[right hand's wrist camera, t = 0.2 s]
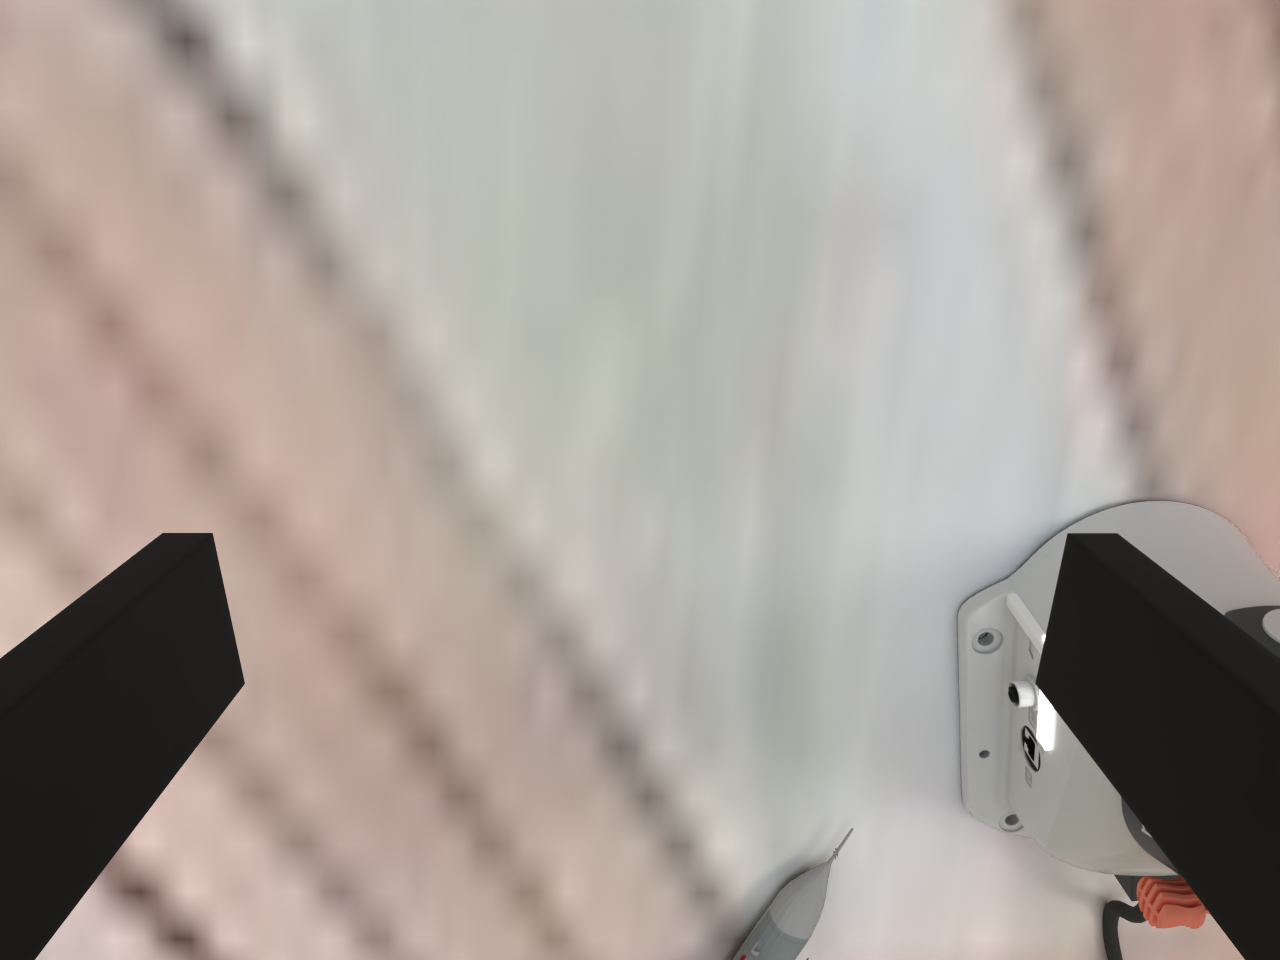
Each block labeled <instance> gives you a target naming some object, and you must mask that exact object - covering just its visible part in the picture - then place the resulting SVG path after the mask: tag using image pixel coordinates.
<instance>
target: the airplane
mask: <svg viewBox="0 0 1280 960" xmlns="http://www.w3.org/2000/svg"><path fill="white" fill-rule="evenodd" d="M852 831H853V828H852V829H851V830H850V831H849V833H848V834H847V836H846V837H845V838H844V840H843V841H842V843H841V844H840V845H839V847H838V848H837V849H836V848H835V850H836V851H833V853H834V854H833V855H832V857H831V858H830V859H829V860H828V862H826V863H824V864H821V865H819V866H817V867H815V868H813V869H811V870H809V871H807V872H805V873H803V874H801V875H800V876H798V877H797V878H795V879H793V880H792V881H790V882H789V883H788V884H787V885H786V886H785V887H784V888H783V889H782V890H781V891H779V893H778V894H777V896H776V897H775V899H774V900H773V902H772V903H771V904H770V906H769V907H768V908H767V910H766V911H765V912H764V914H763V915H762V917H761V918H760V919H759V921H758V922H757V924H756V925H755V927H754V928H753V929H752V931H751V933H750V934H749V936H748V937H747V939H746V940H745V942H744V943H743V945H742V946H741V947H740V949H739V951H738V952H737V954H736V955H735V957H734V958H733V960H795V959H796V957H797V956H798V954H799V953H800V952H801V950H802V949H803V947H804V946H805V944H806V943H807V941H808V940H809V938H810V937H811V935H812V933H813V931H814V929H815V927H816V924H817V922H818V920H819V918H820V915H821V912H822V909H823V907H824V901H825V896H826V890H827V883H828V877H829V872H830V867H831V863H832V862H833V860H834V858H835V859H836V855H837V857H838V852H839V850H840V849H841V848H842V846H843V845H844V843H845V842H846V840H847V839H848V837H849V835H850V834H851V832H852ZM808 959H809V958H807V959H806V960H808Z"/></svg>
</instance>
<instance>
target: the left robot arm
mask: <svg viewBox="0 0 1280 960" xmlns="http://www.w3.org/2000/svg"><path fill="white" fill-rule="evenodd" d="M1067 533H1118V534H1119V535H1120V536H1122V537H1123V538H1124V539H1126V540H1127V541H1128V542H1129V543H1131V544H1132V545H1133V546H1135V547H1136V548H1137V549H1139V550H1140V551H1141V552H1142V553H1144V554H1145V555H1146V556H1148V557H1149V558H1150V559H1151V560H1153V561H1154V562H1155V563H1157V564H1158V565H1159V566H1161V567H1162V568H1163V569H1164V570H1166V571H1167V572H1168V573H1170V574H1171V575H1172V576H1173V577H1175V578H1176V579H1177V580H1179V581H1180V582H1181V583H1183V584H1184V585H1185V586H1186V587H1188V588H1189V589H1190V590H1192V591H1193V592H1194V593H1195V594H1197V595H1198V596H1199V597H1201V598H1202V599H1203V600H1205V601H1206V602H1207V603H1208V604H1210V605H1211V606H1212V607H1214V608H1215V609H1216V610H1218V611H1219V612H1220V613H1221V614H1223V615H1224V616H1225V617H1227V618H1228V619H1229V620H1230V621H1232V622H1233V623H1234V624H1236V625H1237V626H1238V627H1240V628H1241V629H1242V630H1243V631H1245V632H1246V633H1247V634H1249V635H1250V636H1251V637H1252V638H1254V639H1255V640H1256V641H1258V642H1259V643H1260V644H1262V645H1263V646H1264V647H1265V648H1267V649H1268V650H1269V651H1271V652H1272V653H1273V654H1274V655H1276V656H1277V657H1278V658H1280V579H1279V578H1278V577H1277V576H1276V575H1275V574H1274V573H1273V572H1272V570H1271V569H1270V568H1269V567H1268V566H1267V565H1266V564H1265V562H1264V561H1263V560H1262V559H1261V558H1260V556H1259V555H1258V554H1257V552H1256V551H1255V550H1254V548H1253V547H1252V545H1251V544H1250V543H1249V541H1248V540H1247V539H1246V537H1245V536H1244V535H1243V534H1242V533H1241V531H1240V530H1239V529H1238V528H1236V527H1235V526H1234V525H1233V524H1232V523H1231V522H1229V521H1228V520H1226V519H1225V518H1223V517H1222V516H1220V515H1218V514H1216V513H1214V512H1212V511H1210V510H1207V509H1205V508H1202V507H1199V506H1196V505H1192V504H1187V503H1183V502H1175V501H1143V502H1135V503H1129V504H1125V505H1120V506H1116V507H1113V508H1109V509H1106V510H1103V511H1100V512H1098V513H1095V514H1093V515H1091V516H1088V517H1086V518H1084V519H1082V520H1080V521H1078V522H1076V523H1074V524H1073V525H1071V526H1069V527H1068V528H1066V529H1064V530H1063V531H1061V532H1060V533H1058V534H1057V535H1056V536H1054V537H1053V538H1052V539H1050V540H1049V541H1048V542H1047V543H1045V544H1044V545H1043V546H1042V547H1041V548H1040V549H1039V550H1037V551H1036V552H1035V553H1034V554H1033V555H1032V556H1031V557H1030V558H1029V559H1028V561H1027V562H1026V563H1025V564H1024V565H1023V566H1022V567H1021V568H1019V569H1018V570H1017V571H1016V572H1015V573H1014V574H1012V575H1011V576H1010V577H1009V578H1007V579H1005V580H1003V581H1001V582H999V583H997V584H994V585H992V586H990V587H988V588H986V589H984V590H982V591H981V592H979V593H977V594H975V595H974V596H972V597H971V598H969V599H968V600H967V601H966V602H965V603H964V604H963V605H962V606H961V608H960V610H959V613H958V660H959V701H960V743H961V784H962V800H963V804H964V806H965V807H966V809H967V810H968V812H969V813H970V815H971V816H972V817H974V818H975V819H977V820H978V821H980V822H982V823H984V824H986V825H988V826H990V827H992V828H994V829H997V830H1000V831H1002V832H1006V833H1009V834H1013V835H1017V836H1022V837H1027V838H1032V839H1033V840H1034V841H1035V843H1036V844H1037V845H1038V846H1039V847H1041V848H1042V849H1043V850H1044V851H1045V852H1047V853H1048V854H1049V855H1051V856H1052V857H1054V858H1056V859H1058V860H1060V861H1062V862H1064V863H1066V864H1069V865H1071V866H1074V867H1077V868H1081V869H1085V870H1089V871H1094V872H1100V873H1106V874H1114V875H1115V877H1116V878H1117V880H1118V881H1119V883H1120V884H1121V886H1122V887H1123V889H1124V890H1125V892H1126V893H1127V895H1128V896H1129V898H1130V899H1131V901H1138V900H1139V903H1138V904H1137V905H1136V906H1134V907H1132V906H1129V905H1127V904H1126V903H1124V902H1121V901H1114V900H1112V901H1110V902H1109V903H1108V904H1107V905H1106V907H1105V909H1104V913H1103V935H1104V942H1105V948H1106V953H1107V957H1108V960H1122V955H1121V950H1120V945H1119V939H1118V929H1117V926H1118V919H1119V917H1122V918H1124V919H1126V920H1128V921H1130V922H1134V923H1142V922H1144V921H1146V920H1149V924H1150V925H1151V926H1156V928H1170V927H1175V926H1187V927H1190V928H1192V929H1194V928H1199V927H1201V926H1202V924H1203V923H1204V920H1205V914H1210V913H1209V911H1208V910H1207V909H1206V907H1205V906H1204V905H1203V904H1202V902H1201V901H1200V900H1199V898H1198V897H1197V896H1196V894H1195V893H1194V892H1193V890H1192V889H1191V888H1190V886H1189V885H1188V884H1187V882H1186V881H1185V880H1184V879H1183V877H1182V876H1181V875H1180V873H1179V872H1178V871H1177V869H1176V868H1175V867H1174V865H1173V864H1172V863H1171V861H1170V860H1169V859H1168V858H1167V856H1166V855H1165V854H1164V852H1163V851H1162V850H1161V848H1160V847H1159V846H1158V844H1157V843H1156V842H1155V840H1154V839H1153V838H1152V836H1151V835H1150V834H1149V833H1148V831H1147V830H1146V829H1145V827H1144V826H1143V825H1142V823H1141V822H1140V821H1139V819H1138V818H1137V817H1136V815H1135V814H1134V813H1133V812H1132V810H1131V809H1130V808H1129V806H1128V805H1127V804H1126V802H1125V801H1124V800H1123V798H1122V797H1121V796H1120V794H1119V793H1118V792H1117V791H1116V789H1115V788H1114V787H1113V785H1112V784H1111V783H1110V781H1109V780H1108V779H1107V777H1106V776H1105V775H1104V773H1103V772H1102V771H1101V769H1100V768H1099V767H1098V766H1097V764H1096V763H1095V762H1094V760H1093V759H1092V758H1091V756H1090V755H1089V754H1088V752H1087V751H1086V750H1085V748H1084V747H1083V746H1082V745H1081V743H1080V742H1079V741H1078V739H1077V738H1076V737H1075V735H1074V734H1073V733H1072V731H1071V730H1070V729H1069V727H1068V726H1067V725H1066V723H1065V722H1064V721H1063V720H1062V718H1061V717H1060V716H1059V714H1058V713H1057V712H1056V710H1055V709H1054V708H1053V706H1052V705H1051V704H1050V702H1049V701H1048V700H1047V699H1046V697H1045V696H1044V695H1043V693H1042V692H1041V691H1040V689H1039V688H1038V687H1037V685H1036V684H1035V682H1036V677H1037V673H1038V668H1039V663H1040V659H1041V654H1042V649H1043V645H1044V640H1045V635H1046V631H1047V626H1048V621H1049V617H1050V612H1051V608H1052V603H1053V598H1054V594H1055V589H1056V584H1057V580H1058V575H1059V570H1060V566H1061V561H1062V556H1063V552H1064V547H1065V542H1066V538H1067ZM986 632H988V634H987V636H986V637H984V638H981V639H978V638H979V636H980V635H981V634H983V633H986ZM1009 815H1010V816H1009Z"/></svg>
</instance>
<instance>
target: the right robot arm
mask: <svg viewBox="0 0 1280 960" xmlns="http://www.w3.org/2000/svg"><path fill="white" fill-rule="evenodd" d="M244 684H245V682H244V677H243V673H242V668H241V663H240V659H239V654H238V649H237V645H236V640H235V635H234V631H233V626H232V622H231V617H230V612H229V608H228V603H227V598H226V594H225V589H224V584H223V580H222V575H221V570H220V566H219V561H218V556H217V552H216V547H215V542H214V538H213V533H162V534H161V535H160V536H158V537H157V538H156V539H154V540H153V541H152V542H151V543H149V544H148V545H147V546H145V547H144V548H143V549H141V550H140V551H139V552H138V553H136V554H135V555H134V556H132V557H131V558H130V559H129V560H127V561H126V562H125V563H123V564H122V565H121V566H119V567H118V568H117V569H116V570H114V571H113V572H112V573H110V574H109V575H108V576H107V577H105V578H104V579H103V580H101V581H100V582H99V583H97V584H96V585H95V586H94V587H92V588H91V589H90V590H88V591H87V592H86V593H85V594H83V595H82V596H81V597H79V598H78V599H77V600H75V601H74V602H73V603H72V604H70V605H69V606H68V607H66V608H65V609H64V610H62V611H61V612H60V613H59V614H57V615H56V616H55V617H53V618H52V619H51V620H50V621H48V622H47V623H46V624H44V625H43V626H42V627H40V628H39V629H38V630H37V631H35V632H34V633H33V634H31V635H30V636H29V637H28V638H26V639H25V640H24V641H22V642H21V643H20V644H18V645H17V646H16V647H15V648H13V649H12V650H11V651H9V652H8V653H7V654H6V655H4V656H3V657H2V658H0V960H35V959H36V957H37V956H38V955H39V953H40V952H41V951H42V949H43V948H44V947H45V946H46V944H47V943H48V942H49V940H50V939H51V938H52V936H53V935H54V934H55V932H56V931H57V930H58V928H59V927H60V926H61V925H62V923H63V922H64V921H65V919H66V918H67V917H68V915H69V914H70V913H71V911H72V910H73V909H74V907H75V906H76V905H77V903H78V902H79V901H80V900H81V898H82V897H83V896H84V894H85V893H86V892H87V890H88V889H89V888H90V886H91V885H92V884H93V882H94V881H95V880H96V879H97V877H98V876H99V875H100V873H101V872H102V871H103V869H104V868H105V867H106V865H107V864H108V863H109V861H110V860H111V859H112V858H113V856H114V855H115V854H116V852H117V851H118V850H119V848H120V847H121V846H122V844H123V843H124V842H125V840H126V839H127V838H128V836H129V835H130V834H131V833H132V831H133V830H134V829H135V827H136V826H137V825H138V823H139V822H140V821H141V819H142V818H143V817H144V815H145V814H146V813H147V812H148V810H149V809H150V808H151V806H152V805H153V804H154V802H155V801H156V800H157V798H158V797H159V796H160V794H161V793H162V792H163V791H164V789H165V788H166V787H167V785H168V784H169V783H170V781H171V780H172V779H173V777H174V776H175V775H176V773H177V772H178V771H179V769H180V768H181V767H182V766H183V764H184V763H185V762H186V760H187V759H188V758H189V756H190V755H191V754H192V752H193V751H194V750H195V748H196V747H197V746H198V745H199V743H200V742H201V741H202V739H203V738H204V737H205V735H206V734H207V733H208V731H209V730H210V729H211V727H212V726H213V725H214V723H215V722H216V721H217V720H218V718H219V717H220V716H221V714H222V713H223V712H224V710H225V709H226V708H227V706H228V705H229V704H230V702H231V701H232V700H233V699H234V697H235V696H236V695H237V693H238V692H239V691H240V689H241V688H242V687H243V685H244ZM1035 684H1036V685H1037V687H1038V688H1039V689H1040V691H1041V692H1042V693H1043V695H1044V696H1045V697H1046V699H1047V700H1048V701H1049V702H1050V704H1051V705H1052V706H1053V708H1054V709H1055V710H1056V712H1057V713H1058V714H1059V716H1060V717H1061V718H1062V720H1063V721H1064V722H1065V723H1066V725H1067V726H1068V727H1069V729H1070V730H1071V731H1072V733H1073V734H1074V735H1075V737H1076V738H1077V739H1078V741H1079V742H1080V743H1081V745H1082V746H1083V747H1084V748H1085V750H1086V751H1087V752H1088V754H1089V755H1090V756H1091V758H1092V759H1093V760H1094V762H1095V763H1096V764H1097V766H1098V767H1099V768H1100V769H1101V771H1102V772H1103V773H1104V775H1105V776H1106V777H1107V779H1108V780H1109V781H1110V783H1111V784H1112V785H1113V787H1114V788H1115V789H1116V791H1117V792H1118V793H1119V794H1120V796H1121V797H1122V798H1123V800H1124V801H1125V802H1126V804H1127V805H1128V806H1129V808H1130V809H1131V810H1132V812H1133V813H1134V814H1135V815H1136V817H1137V818H1138V819H1139V821H1140V822H1141V823H1142V825H1143V826H1144V827H1145V829H1146V830H1147V831H1148V833H1149V834H1150V835H1151V836H1152V838H1153V839H1154V840H1155V842H1156V843H1157V844H1158V846H1159V847H1160V848H1161V850H1162V851H1163V852H1164V854H1165V855H1166V856H1167V858H1168V859H1169V860H1170V861H1171V863H1172V864H1173V865H1174V867H1175V868H1176V869H1177V871H1178V872H1179V873H1180V875H1181V876H1182V877H1183V879H1184V880H1185V881H1186V882H1187V884H1188V885H1189V886H1190V888H1191V889H1192V890H1193V892H1194V893H1195V894H1196V896H1197V897H1198V898H1199V900H1200V901H1201V902H1202V904H1203V905H1204V906H1205V907H1206V909H1207V910H1208V911H1209V913H1210V914H1211V915H1212V917H1213V918H1214V919H1215V921H1216V922H1217V923H1218V925H1219V926H1220V927H1221V928H1222V930H1223V931H1224V932H1225V934H1226V935H1227V936H1228V938H1229V939H1230V940H1231V942H1232V943H1233V944H1234V946H1235V947H1236V948H1237V949H1238V951H1239V952H1240V953H1241V955H1242V956H1243V957H1244V959H1245V960H1280V658H1278V657H1277V656H1276V655H1274V654H1273V653H1272V652H1271V651H1269V650H1268V649H1267V648H1265V647H1264V646H1263V645H1262V644H1260V643H1259V642H1258V641H1256V640H1255V639H1254V638H1252V637H1251V636H1250V635H1249V634H1247V633H1246V632H1245V631H1243V630H1242V629H1241V628H1240V627H1238V626H1237V625H1236V624H1234V623H1233V622H1232V621H1230V620H1229V619H1228V618H1227V617H1225V616H1224V615H1223V614H1221V613H1220V612H1219V611H1218V610H1216V609H1215V608H1214V607H1212V606H1211V605H1210V604H1208V603H1207V602H1206V601H1205V600H1203V599H1202V598H1201V597H1199V596H1198V595H1197V594H1195V593H1194V592H1193V591H1192V590H1190V589H1189V588H1188V587H1186V586H1185V585H1184V584H1183V583H1181V582H1180V581H1179V580H1177V579H1176V578H1175V577H1173V576H1172V575H1171V574H1170V573H1168V572H1167V571H1166V570H1164V569H1163V568H1162V567H1161V566H1159V565H1158V564H1157V563H1155V562H1154V561H1153V560H1151V559H1150V558H1149V557H1148V556H1146V555H1145V554H1144V553H1142V552H1141V551H1140V550H1139V549H1137V548H1136V547H1135V546H1133V545H1132V544H1131V543H1129V542H1128V541H1127V540H1126V539H1124V538H1123V537H1122V536H1120V535H1119V534H1118V533H1067V538H1066V542H1065V547H1064V552H1063V556H1062V561H1061V566H1060V570H1059V575H1058V580H1057V584H1056V589H1055V594H1054V598H1053V603H1052V608H1051V612H1050V617H1049V621H1048V626H1047V631H1046V635H1045V640H1044V645H1043V649H1042V654H1041V659H1040V663H1039V668H1038V673H1037V677H1036V682H1035Z"/></svg>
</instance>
